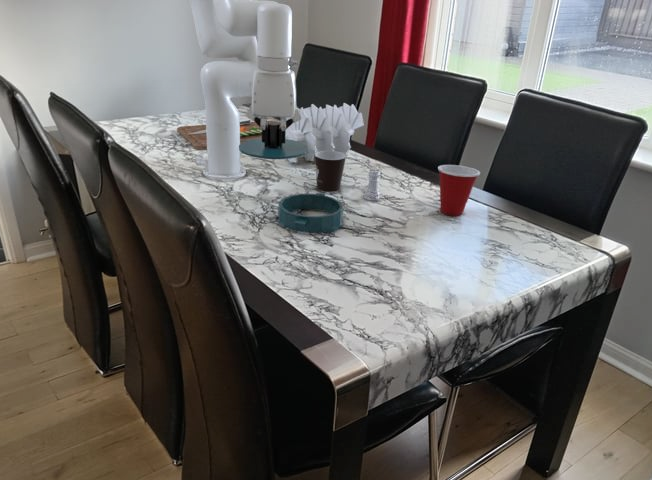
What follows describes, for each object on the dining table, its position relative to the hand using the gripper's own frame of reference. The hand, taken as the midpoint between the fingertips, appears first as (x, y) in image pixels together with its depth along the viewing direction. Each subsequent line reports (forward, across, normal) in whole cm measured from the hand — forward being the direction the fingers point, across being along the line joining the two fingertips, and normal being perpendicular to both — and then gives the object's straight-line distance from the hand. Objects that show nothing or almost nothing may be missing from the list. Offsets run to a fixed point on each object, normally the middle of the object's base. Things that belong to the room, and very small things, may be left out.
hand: (273, 145), depth 138 cm
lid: (+1, 0, 0) cm, 1 cm away
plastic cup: (+18, -47, -8) cm, 51 cm away
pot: (+18, -10, +4) cm, 20 cm away
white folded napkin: (+17, -10, -48) cm, 52 cm away
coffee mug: (+17, -14, -22) cm, 31 cm away
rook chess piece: (+18, -26, -15) cm, 35 cm away
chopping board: (+17, +19, -72) cm, 76 cm away
